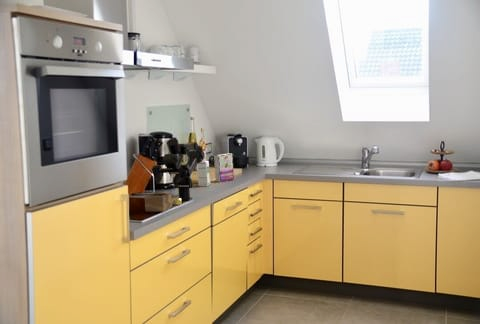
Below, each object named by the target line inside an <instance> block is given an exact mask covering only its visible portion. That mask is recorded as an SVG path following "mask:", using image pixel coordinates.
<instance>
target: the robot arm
mask: <svg viewBox="0 0 480 324" xmlns="http://www.w3.org/2000/svg"><path fill="white" fill-rule="evenodd" d="M166 146H167V149H168V150H167V151H168V153H165V154H164V155H163V159H162V160H163V162H164V165H165V167H162V166H161V165H153V166H152V168H151V171H152V174H153V177H154V178H155V179H156V182H157V184H160V183H161V181H162V179H163V178H164V174H168V175H174V176H173V177H172V178H173V179H172V181H173V187H174V189H178V191H177V192H178V198H182V201H190V200H192V199H193V197H191V190H190V189H193V188H194V181H193V180H192V177H191V176H192V173H193V171H194V170H195V168H196V167H197V164H198V163H201V162H202V161H204V159H205V157H206V156H205V151H204V149H203V148H202V147H201V146H199V144H198V142H196V141H190V142H187V143H179V139H178V138H177V137H171V138H170V139H168V140H167V141H166ZM184 156H187V157H188V160H187V162H186V164H182V163H184Z"/></svg>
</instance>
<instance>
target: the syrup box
mask: <svg viewBox="0 0 480 324" xmlns="http://www.w3.org/2000/svg"><path fill="white" fill-rule="evenodd" d="M196 167H197V168H196V169H197V182H198V187H209V185H211V177H210V164H209V160H203V161H202V162H201V163H198V164H197V165H196Z"/></svg>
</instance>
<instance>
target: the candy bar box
mask: <svg viewBox="0 0 480 324" xmlns="http://www.w3.org/2000/svg"><path fill="white" fill-rule="evenodd" d="M233 155H234V154H233V153H229V152H228V153H221V154H214V155H213V158H214V161H213V162H214V174H215V175H214V176H215V182H216V183H217V182H218V183H223V182H229V181H234V180H235V175H234V174H235V173H234V157H233Z"/></svg>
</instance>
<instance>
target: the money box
mask: <svg viewBox="0 0 480 324" xmlns="http://www.w3.org/2000/svg"><path fill="white" fill-rule="evenodd" d="M172 194H173V193H172V192H152V193H149V194H148V195H145V196H144V209H145V212H160V213H161V212H165V211H167V210H169V209H172V207H173V205H172V199H173V197H172Z"/></svg>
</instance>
